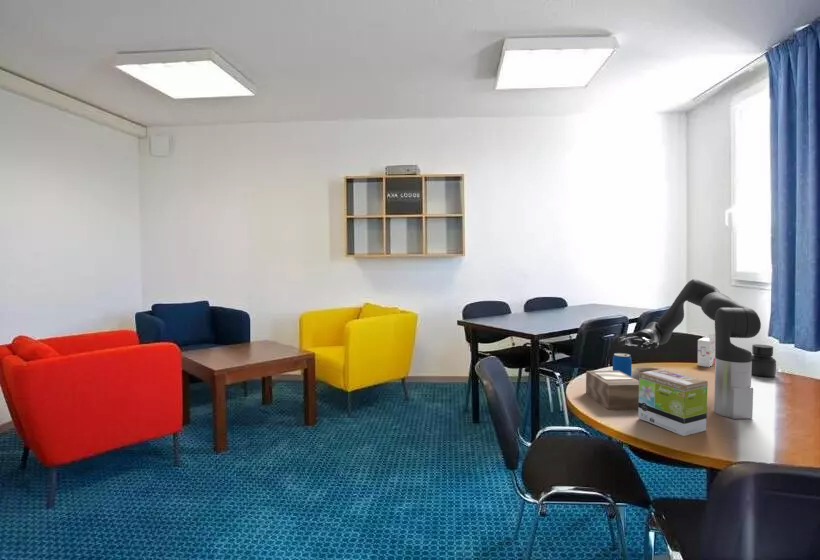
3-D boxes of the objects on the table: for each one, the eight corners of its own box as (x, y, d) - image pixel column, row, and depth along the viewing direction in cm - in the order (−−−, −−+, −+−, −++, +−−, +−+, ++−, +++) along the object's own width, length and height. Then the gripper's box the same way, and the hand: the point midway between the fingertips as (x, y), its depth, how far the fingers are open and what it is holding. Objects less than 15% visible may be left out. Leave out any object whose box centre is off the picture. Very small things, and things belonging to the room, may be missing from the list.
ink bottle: (781, 376, 185) (782, 347, 185) (769, 379, 181) (770, 349, 181) (754, 371, 194) (755, 342, 193) (742, 373, 190) (743, 344, 190)
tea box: (636, 419, 139) (637, 371, 138) (659, 414, 143) (660, 367, 142) (683, 437, 125) (685, 384, 124) (707, 431, 129) (709, 379, 129)
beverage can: (635, 387, 172) (635, 355, 172) (622, 389, 170) (622, 357, 169) (621, 382, 178) (621, 352, 178) (608, 384, 176) (609, 353, 175)
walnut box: (645, 408, 148) (645, 383, 148) (608, 409, 148) (609, 384, 147) (618, 392, 166) (619, 369, 166) (586, 392, 166) (586, 370, 165)
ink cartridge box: (702, 362, 210) (703, 330, 209) (715, 364, 206) (716, 331, 206) (696, 365, 204) (697, 332, 204) (709, 367, 201) (710, 334, 200)
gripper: (627, 328, 198) (613, 333, 186) (664, 331, 188) (651, 337, 177) (627, 345, 199) (613, 351, 187) (663, 349, 189) (651, 357, 177)
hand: (632, 345), depth 182 cm, fingers open, 8 cm apart
